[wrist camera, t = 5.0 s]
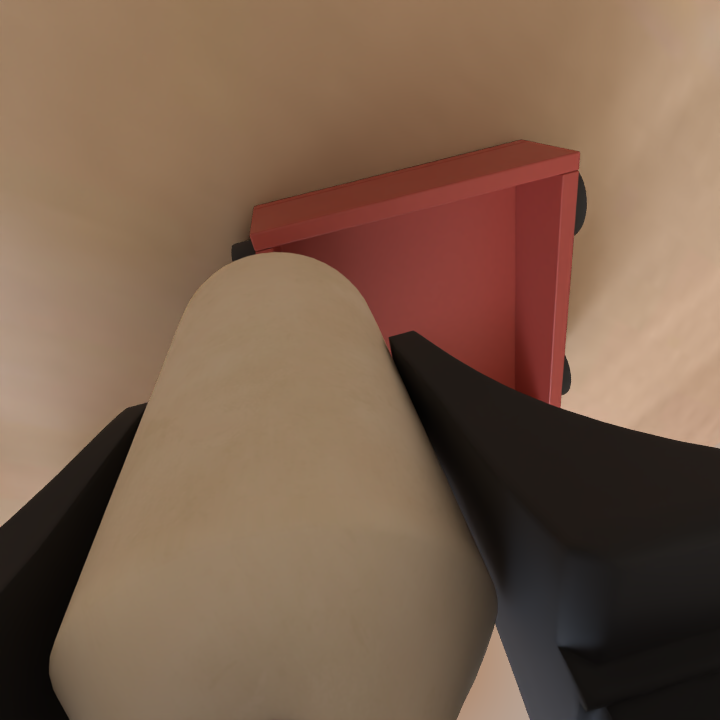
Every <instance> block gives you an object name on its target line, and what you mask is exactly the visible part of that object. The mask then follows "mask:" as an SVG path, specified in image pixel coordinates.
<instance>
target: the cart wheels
mask: <svg viewBox="0 0 720 720" xmlns="http://www.w3.org/2000/svg"><path fill="white" fill-rule="evenodd" d="M586 209H587V197H586V190H585V186H584V182H583V180H582V177H581V175H580V173H579V177H578V190H577V203H576V215H575V228H574V235H575V234H577V233H578V232H579V230H580V229H581V227H582V225H583V223H584V220H585V216H586ZM251 255H256V251H255V250H254V247H253V244H252V242H251V240H248V241H244V242H240V243H236V244H233V245H232V261H233V262H234V261H236V260H239V259H242V258H244V257H247V256H251ZM570 385H571V373H570V368H569V364H568V361H567V359H566V356H565V355H564V368H563V381H562V394H561V395H564V394H566V393H567V392H568V391H569V389H570Z"/></svg>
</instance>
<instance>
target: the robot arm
mask: <svg viewBox="0 0 720 720" xmlns="http://www.w3.org/2000/svg"><path fill="white" fill-rule="evenodd" d="M388 338H389V343H390V348H391V353H392V358H393V361H394V363H395V365H396V367H397V369H398V372H399V374H400V376H401V378H402V381H403V383H404V385H405V387H406V389H407V392H408V394H409V396H410V398H411V401H412V403H413V405H414V407H415V409H416V412H417V414H418V416H419V418H420V421H421V423H422V425H423V427H424V429H425V432H426V434H427V436H428V438H429V441H430V443H431V445H432V447H433V449H434V452H435V454H436V456H437V458H438V461H439V463H440V465H441V467H442V469H443V472H444V474H445V476H446V478H447V481H448V483H449V485H450V487H451V489H452V492H453V494H454V496H455V498H456V501H457V503H458V505H459V507H460V509H461V512H462V514H463V516H464V518H465V521H466V523H467V525H468V527H469V529H470V532H471V534H472V536H473V538H474V541H475V543H476V545H477V547H478V549H479V552H480V554H481V556H482V558H483V561H484V563H485V565H486V567H487V570H488V572H489V574H490V576H491V579H492V581H493V583H494V586H495V590H496V594H497V598H498V613H497V617H496V621H495V624H496V627H497V630H498V633H499V635H500V638H501V641H502V643H503V646H504V649H505V651H506V654H507V657H508V660H509V663H510V665H511V668H512V671H513V674H514V676H515V679H516V682H517V684H518V687H519V690H520V693H521V696H522V699H523V701H524V704H525V707H526V710H527V713H528V715H529V718H530V720H720V449H719V448H714V447H708V446H703V445H697V444H692V443H687V442H681V441H677V440H672V439H668V438H664V437H660V436H655V435H651V434H647V433H643V432H639V431H635V430H630V429H627V428H623V427H619V426H616V425H612V424H609V423H605V422H602V421H598V420H595V419H592V418H589V417H586V416H583V415H580V414H576V413H573V412H570V411H567V410H564V409H562V408H559V407H556V406H553V405H550V404H548V403H545V402H543V401H540V400H538V399H535V398H533V397H531V396H528V395H526V394H523V393H521V392H518V391H516V390H514V389H512V388H510V387H508V386H505V385H503V384H501V383H499V382H497V381H495V380H494V379H492V378H490V377H488V376H486V375H484V374H482V373H480V372H478V371H476V370H475V369H473V368H471V367H470V366H468V365H466V364H465V363H463V362H461V361H460V360H458V359H456V358H455V357H453V356H452V355H450V354H448V353H447V352H445V351H444V350H442V349H441V348H439V347H438V346H436V345H435V344H433V343H432V342H430V341H429V340H427V339H426V338H425V337H423V336H422V335H420V334H419V333H417V332H415V331H414V330H413V331H409V332H405V333H402V334H398V335H394V336H391V337H388ZM147 404H148V402H147V403H144V404H140V405H136V406H133V407H129V408H127V409H125V410H124V411H123V412H122V413H120V414H119V415H118V416H117V417H116V418H115V419H114V420H112V421H111V422H110V423H109V424H108V425H107V426H106V427H105V428H104V429H103V430H102V431H101V432H100V433H99V434H98V435H97V436H96V437H95V438H94V439H93V440H92V441H91V442H90V443H89V444H88V445H87V446H86V447H85V448H84V449H83V450H82V451H81V452H80V453H79V454H78V455H77V456H76V457H75V458H74V459H73V460H72V461H71V462H70V463H69V464H68V465H67V466H66V467H65V468H64V469H63V470H62V471H61V472H60V473H59V474H58V475H56V476H55V477H54V478H53V479H52V480H51V481H50V482H49V483H48V484H47V485H46V486H45V487H44V488H43V489H42V490H41V491H39V492H38V493H37V494H36V495H35V496H34V497H33V498H32V499H31V500H30V501H29V502H28V503H27V504H26V505H25V506H23V507H22V508H21V509H20V510H19V511H18V512H17V513H16V514H15V515H14V516H13V517H12V518H11V519H9V520H8V521H7V522H6V523H5V524H4V525H3V526H1V527H0V720H70V719H69V718H68V716H67V714H66V712H65V710H64V709H63V707H62V705H61V703H60V701H59V699H58V698H57V696H56V694H55V692H54V690H53V687H52V683H51V679H50V675H49V662H50V654H51V651H52V648H53V645H54V642H55V639H56V637H57V634H58V631H59V629H60V626H61V624H62V621H63V618H64V616H65V613H66V610H67V608H68V605H69V603H70V600H71V598H72V595H73V593H74V590H75V587H76V585H77V582H78V580H79V577H80V575H81V572H82V570H83V567H84V564H85V562H86V559H87V557H88V554H89V552H90V549H91V547H92V544H93V541H94V539H95V536H96V534H97V531H98V529H99V526H100V524H101V521H102V519H103V516H104V513H105V511H106V508H107V506H108V503H109V501H110V498H111V496H112V493H113V490H114V488H115V485H116V483H117V480H118V478H119V475H120V473H121V470H122V468H123V465H124V462H125V460H126V457H127V455H128V452H129V450H130V447H131V445H132V442H133V439H134V437H135V434H136V432H137V429H138V427H139V424H140V422H141V419H142V417H143V414H144V411H145V409H146V406H147Z"/></svg>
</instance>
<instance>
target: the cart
mask: <svg viewBox="0 0 720 720" xmlns="http://www.w3.org/2000/svg"><path fill="white" fill-rule="evenodd" d="M579 161H580V152H579V151H574V150H569V149H564V148H560V147H555V146H550V145H545V144H540V143H535V142H531V141H526V140H518V141H514V142H510V143H506V144H502V145H498V146H494V147H490V148H486V149H482V150H478V151H474V152H470V153H466V154H462V155H458V156H454V157H450V158H446V159H442V160H438V161H434V162H430V163H426V164H422V165H418V166H414V167H410V168H406V169H402V170H398V171H394V172H390V173H386V174H382V175H378V176H374V177H370V178H366V179H362V180H358V181H354V182H350V183H346V184H342V185H338V186H334V187H330V188H326V189H322V190H317V191H313V192H309V193H305V194H301V195H297V196H293V197H289V198H285V199H281V200H277V201H273V202H269V203H265V204H261V205H257V206H254V209H253V216H252V223H251V230H250V239H251V242H252V244H253V247H254V250H255V251H256V254H260V253H271V252H284V253H293V254H300V255H304V256H307V257H311V258H314V259H316V260H319V261H321V262H323V263H325V264H327V265H329V266H331V267H332V268H334V269H336V270H337V271H338V272H340V273H341V274H342V275H343V276H345V277H346V278H347V279H348V280H349V281H350V282H351V283H352V284H353V285H354V286H355V287H356V288H357V289H358V291H359V292H360V293H361V295H362V296H363V298H364V299H365V301H366V303H367V305H368V307H369V309H370V311H371V313H372V315H373V317H374V319H375V321H376V323H377V325H378V327H379V329H380V332H381V334H382V336H383V338H384V341H385V343H386V345H387V347H388V349H389V352H390V354H391V356H392V353H391V348H390V343H389V338H388V337H391V336H394V335H398V334H402V333H405V332H409V331H413V330H414V331H415V332H417V333H419V334H420V335H422V336H423V337H425V338H426V339H427V340H429V341H430V342H432V343H433V344H435V345H436V346H438V347H439V348H441V349H442V350H444V351H445V352H447V353H448V354H450V355H452V356H453V357H455V358H456V359H458V360H460V361H461V362H463V363H465V364H466V365H468V366H470V367H471V368H473V369H475V370H476V371H478V372H480V373H482V374H484V375H486V376H488V377H490V378H492V379H494V380H495V381H497V382H499V383H501V384H503V385H505V386H508V387H510V388H512V389H514V390H516V391H518V392H521V393H523V394H526V395H528V396H531V397H533V398H535V399H538V400H540V401H543V402H545V403H548V404H550V405H553V406H556V407H559V408H560V406H561V394H562V381H563V368H564V355H565V343H566V330H567V317H568V305H569V292H570V279H571V266H572V254H573V241H574V228H575V215H576V203H577V190H578V177H579V171H578V169H579Z"/></svg>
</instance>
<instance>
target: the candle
mask: <svg viewBox="0 0 720 720" xmlns="http://www.w3.org/2000/svg"><path fill="white" fill-rule="evenodd" d="M497 613H498V598H497V594H496V590H495V586H494V583H493V581H492V579H491V576H490V574H489V572H488V570H487V567H486V565H485V563H484V561H483V558H482V556H481V554H480V552H479V549H478V547H477V545H476V543H475V541H474V538H473V536H472V534H471V532H470V529H469V527H468V525H467V523H466V521H465V518H464V516H463V514H462V512H461V509H460V507H459V505H458V503H457V501H456V498H455V496H454V494H453V492H452V489H451V487H450V485H449V483H448V481H447V478H446V476H445V474H444V472H443V469H442V467H441V465H440V463H439V461H438V458H437V456H436V454H435V452H434V449H433V447H432V445H431V443H430V441H429V438H428V436H427V434H426V432H425V429H424V427H423V425H422V423H421V421H420V418H419V416H418V414H417V412H416V409H415V407H414V405H413V403H412V401H411V398H410V396H409V394H408V392H407V389H406V387H405V385H404V383H403V381H402V378H401V376H400V374H399V372H398V369H397V367H396V365H395V363H394V361H393V358H392V356H391V354H390V352H389V349H388V347H387V345H386V343H385V341H384V338H383V336H382V334H381V332H380V329H379V327H378V325H377V323H376V321H375V319H374V317H373V315H372V313H371V311H370V309H369V307H368V305H367V303H366V301H365V299H364V298H363V296H362V295H361V293H360V292H359V291H358V289H357V288H356V287H355V286H354V285H353V284H352V283H351V282H350V281H349V280H348V279H347V278H346V277H345V276H343V275H342V274H341V273H340V272H338V271H337V270H336V269H334V268H332V267H331V266H329V265H327V264H325V263H323V262H321V261H319V260H316V259H314V258H311V257H307V256H304V255H300V254H293V253H284V252H271V253H260V254H256V255H251V256H247V257H244V258H242V259H239V260H236V261H234V262H232V263H230V264H228V265H226V266H224V267H222V268H221V269H220V270H218V271H217V272H215V273H214V274H213V275H211V276H210V277H209V278H208V279H207V280H206V281H205V282H204V283H203V284H202V285H201V286H200V287H199V288H198V290H197V291H196V292H195V294H194V295H193V296H192V298H191V300H190V301H189V303H188V305H187V307H186V309H185V311H184V313H183V316H182V318H181V320H180V322H179V325H178V327H177V330H176V332H175V335H174V338H173V340H172V343H171V345H170V348H169V350H168V353H167V355H166V358H165V360H164V363H163V366H162V368H161V371H160V373H159V376H158V378H157V381H156V383H155V386H154V389H153V391H152V394H151V396H150V399H149V401H148V404H147V406H146V409H145V411H144V414H143V417H142V419H141V422H140V424H139V427H138V429H137V432H136V434H135V437H134V439H133V442H132V445H131V447H130V450H129V452H128V455H127V457H126V460H125V462H124V465H123V468H122V470H121V473H120V475H119V478H118V480H117V483H116V485H115V488H114V490H113V493H112V496H111V498H110V501H109V503H108V506H107V508H106V511H105V513H104V516H103V519H102V521H101V524H100V526H99V529H98V531H97V534H96V536H95V539H94V541H93V544H92V547H91V549H90V552H89V554H88V557H87V559H86V562H85V564H84V567H83V570H82V572H81V575H80V577H79V580H78V582H77V585H76V587H75V590H74V593H73V595H72V598H71V600H70V603H69V605H68V608H67V610H66V613H65V616H64V618H63V621H62V624H61V626H60V629H59V631H58V634H57V637H56V639H55V642H54V645H53V648H52V651H51V654H50V662H49V675H50V679H51V683H52V687H53V690H54V692H55V694H56V696H57V698H58V699H59V701H60V703H61V705H62V707H63V709H64V710H65V712H66V714H67V716H68V718H69V719H70V720H456V719H457V717H458V715H459V713H460V710H461V708H462V705H463V703H464V701H465V699H466V697H467V695H468V693H469V691H470V689H471V687H472V685H473V683H474V680H475V678H476V676H477V673H478V670H479V668H480V665H481V663H482V660H483V658H484V655H485V653H486V650H487V647H488V644H489V641H490V638H491V635H492V632H493V629H494V625H495V621H496V617H497Z"/></svg>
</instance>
